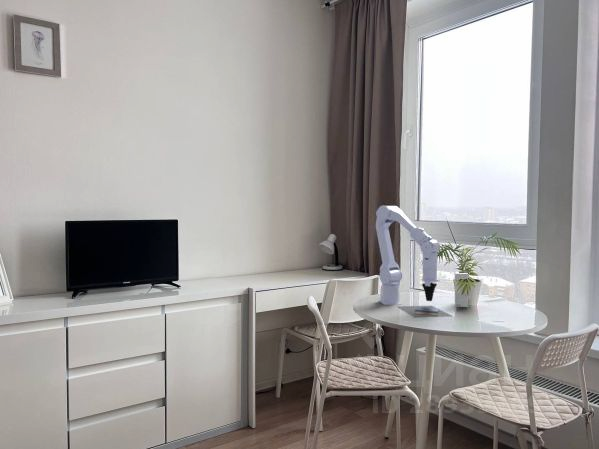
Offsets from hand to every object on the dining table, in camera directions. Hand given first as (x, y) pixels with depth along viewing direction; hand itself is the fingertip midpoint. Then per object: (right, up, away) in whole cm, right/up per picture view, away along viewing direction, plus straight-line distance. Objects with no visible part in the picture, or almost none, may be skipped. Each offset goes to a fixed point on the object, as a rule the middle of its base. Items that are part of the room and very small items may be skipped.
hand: (429, 300), depth 194 cm
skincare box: (+17, -4, +10) cm, 20 cm away
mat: (-3, -4, -3) cm, 6 cm away
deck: (-1, -3, -3) cm, 5 cm away
